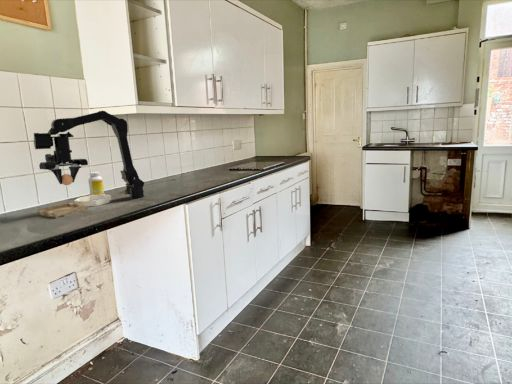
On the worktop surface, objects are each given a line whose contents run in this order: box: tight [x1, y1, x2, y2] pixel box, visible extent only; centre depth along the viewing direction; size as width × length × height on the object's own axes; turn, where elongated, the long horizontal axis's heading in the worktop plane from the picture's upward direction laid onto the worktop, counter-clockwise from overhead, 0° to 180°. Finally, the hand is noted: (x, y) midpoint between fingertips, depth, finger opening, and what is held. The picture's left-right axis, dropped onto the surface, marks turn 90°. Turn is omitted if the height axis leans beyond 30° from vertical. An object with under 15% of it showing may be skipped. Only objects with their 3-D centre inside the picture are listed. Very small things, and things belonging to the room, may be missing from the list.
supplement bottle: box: [88, 171, 105, 195], centre depth 186 cm, size 7×7×13 cm
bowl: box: [73, 193, 112, 208], centre depth 169 cm, size 15×15×3 cm
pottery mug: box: [124, 182, 130, 194], centre depth 193 cm, size 12×10×8 cm
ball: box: [61, 173, 73, 186], centre depth 156 cm, size 5×5×5 cm
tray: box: [37, 202, 88, 219], centre depth 155 cm, size 14×14×2 cm
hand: (66, 183), depth 156 cm, fingers closed on ball, 5 cm apart
